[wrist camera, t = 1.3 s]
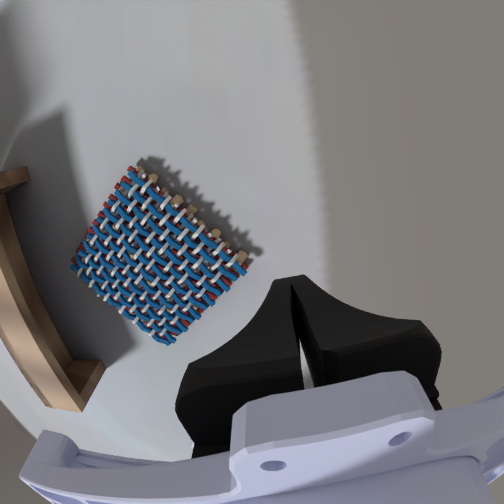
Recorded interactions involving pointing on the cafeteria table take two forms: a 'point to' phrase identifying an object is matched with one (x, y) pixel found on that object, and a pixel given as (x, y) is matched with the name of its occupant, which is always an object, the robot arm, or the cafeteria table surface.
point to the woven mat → (155, 258)
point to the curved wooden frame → (36, 323)
